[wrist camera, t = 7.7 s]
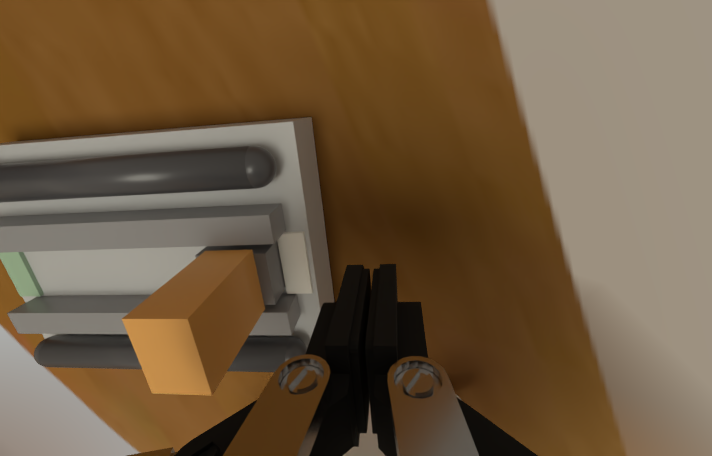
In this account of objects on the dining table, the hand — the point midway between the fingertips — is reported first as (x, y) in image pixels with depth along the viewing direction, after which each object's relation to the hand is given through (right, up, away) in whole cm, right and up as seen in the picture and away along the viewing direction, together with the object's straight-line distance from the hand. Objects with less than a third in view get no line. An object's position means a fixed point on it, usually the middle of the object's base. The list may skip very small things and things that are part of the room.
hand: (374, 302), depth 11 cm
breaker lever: (-6, +1, +4) cm, 7 cm away
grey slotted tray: (-10, +2, +7) cm, 13 cm away
